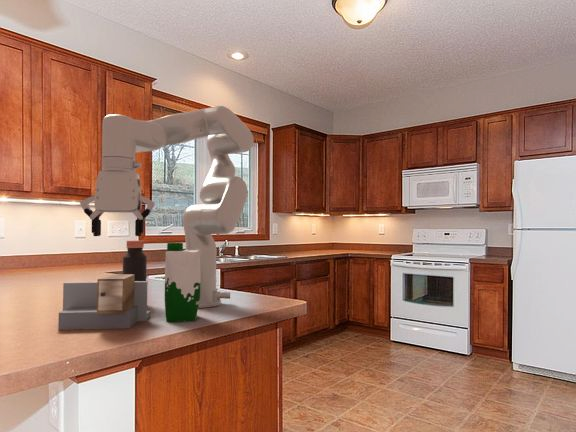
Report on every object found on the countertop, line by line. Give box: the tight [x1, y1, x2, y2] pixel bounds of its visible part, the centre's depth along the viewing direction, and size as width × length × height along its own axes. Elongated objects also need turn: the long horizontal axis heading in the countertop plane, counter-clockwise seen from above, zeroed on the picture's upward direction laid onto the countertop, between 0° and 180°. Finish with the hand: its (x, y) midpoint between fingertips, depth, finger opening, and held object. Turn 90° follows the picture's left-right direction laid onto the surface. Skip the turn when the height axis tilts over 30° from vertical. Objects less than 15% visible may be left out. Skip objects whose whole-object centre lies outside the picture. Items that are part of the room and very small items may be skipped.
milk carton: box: [164, 242, 201, 323], centre depth 103 cm, size 9×9×20 cm
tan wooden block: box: [97, 273, 135, 314], centre depth 95 cm, size 6×10×8 cm, turn 8°
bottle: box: [122, 240, 148, 281], centre depth 120 cm, size 7×7×20 cm
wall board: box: [57, 280, 151, 331], centre depth 98 cm, size 20×12×10 cm, turn 98°
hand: (117, 236), depth 96 cm, fingers open, 9 cm apart
